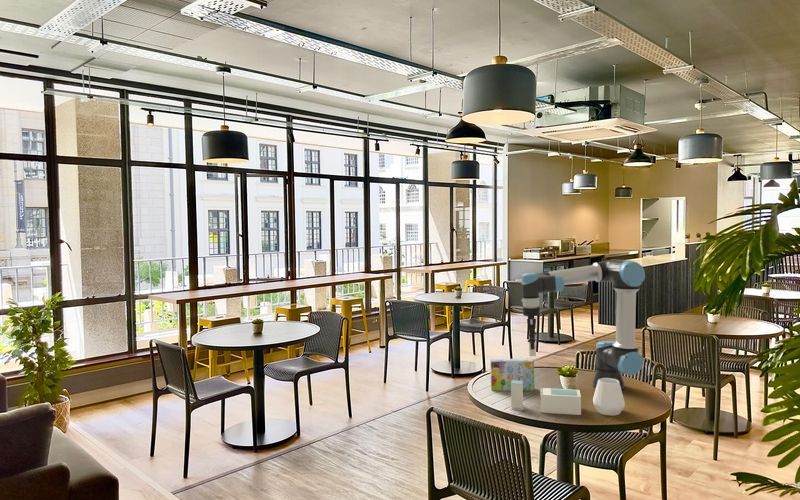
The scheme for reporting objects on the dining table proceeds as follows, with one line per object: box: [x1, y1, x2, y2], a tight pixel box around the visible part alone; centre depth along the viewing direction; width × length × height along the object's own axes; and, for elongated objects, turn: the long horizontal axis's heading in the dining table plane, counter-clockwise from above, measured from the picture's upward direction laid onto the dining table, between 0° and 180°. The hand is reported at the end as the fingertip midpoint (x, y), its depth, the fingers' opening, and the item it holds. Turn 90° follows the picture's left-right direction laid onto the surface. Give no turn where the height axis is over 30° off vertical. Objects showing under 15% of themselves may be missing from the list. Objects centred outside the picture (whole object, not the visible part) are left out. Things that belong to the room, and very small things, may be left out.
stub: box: [510, 380, 524, 409], centre depth 253 cm, size 5×4×11 cm
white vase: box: [592, 378, 626, 416], centre depth 244 cm, size 13×13×14 cm
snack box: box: [489, 358, 535, 392], centre depth 279 cm, size 21×6×15 cm, turn 84°
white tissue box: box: [540, 387, 582, 416], centre depth 248 cm, size 17×10×8 cm, turn 76°
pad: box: [509, 407, 524, 411], centre depth 253 cm, size 6×7×1 cm
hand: (532, 352), depth 256 cm, fingers open, 13 cm apart
